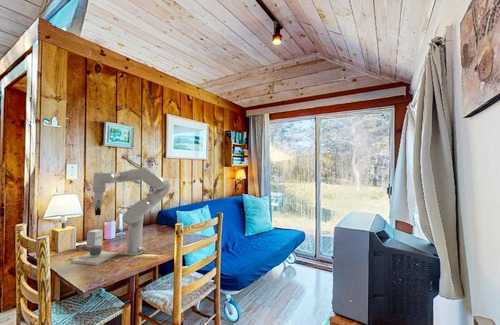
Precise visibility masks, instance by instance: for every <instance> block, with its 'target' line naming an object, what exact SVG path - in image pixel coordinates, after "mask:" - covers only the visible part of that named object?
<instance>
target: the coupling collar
mask: <svg viewBox="0 0 500 325" xmlns="http://www.w3.org/2000/svg"><path fill="white" fill-rule="evenodd" d="M78 251H79V252H89V253H90V255H98V254H100V253H101V251H102V246H87V245H80V246H78Z"/></svg>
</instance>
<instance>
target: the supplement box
mask: <svg viewBox="0 0 500 325" xmlns="http://www.w3.org/2000/svg"><path fill="white" fill-rule="evenodd" d="M103 232H104V230H103V229H93V230H92V229H91V230H88V231H87V232H86V246H101V247H102V246H103V238H104V236H103V234H104V233H103Z"/></svg>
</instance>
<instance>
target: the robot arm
mask: <svg viewBox="0 0 500 325" xmlns="http://www.w3.org/2000/svg"><path fill="white" fill-rule="evenodd" d="M92 181H93V186H92V193H94V194H93V207H94V216H101V215H102V213H101V212H102V208H101V207H102V206H103V201H104V200H103V199H104V193H105V192H106V186H107V184H116V183H124V182H138V181H141V182H144V183H145V184H146V185H148V187H151V188H152V189H155V190H153V191H152V192H151V193H150V194H149V195H147V196H146V197H145V198H142V199H139V200H138V201H136V202H135V203H134V204H133V205H132V206H131V207H129V209H126V211H125V212H124V213H123V216H122V222H124V223H125V224H126V225H127V243H126V250H125V251H124V255H126V256H137V255H141V254H143V253H144V252H146V251H147V247H144V244H143V230H144V229H143V227H144V226H143V224H144V219H145V215H146V214H147V213H149V211H151V210H152V209H153V208H154V207H155V206H157V204H159V203H160V202H161V201H162V200H163V199H164V198H165V197H166V196H167V195H168V193H169V191H170V186H171V185H170V182H169V179H168V178H167V177H164V176H158V174H155V171H154V169H153V168H152V167H141V168H135V169H129V170H126V171H118V172H94V174H93V180H92Z"/></svg>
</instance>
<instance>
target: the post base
mask: <svg viewBox="0 0 500 325" xmlns="http://www.w3.org/2000/svg"><path fill="white" fill-rule="evenodd" d="M117 255H118V252H116V251H105V250H103V251H102V250H101V253H100V254H98V255H90V252H89V253H84V254H83V255H81V256H79V257H76V258H74V259H71V260H70V261H71V262H70V263H71V264H81V265H82V264H83V265H93V266H97V265H99V264H101V263H103V262H106V261H108V260H109V259H112V258H113V257H116V256H117Z"/></svg>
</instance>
